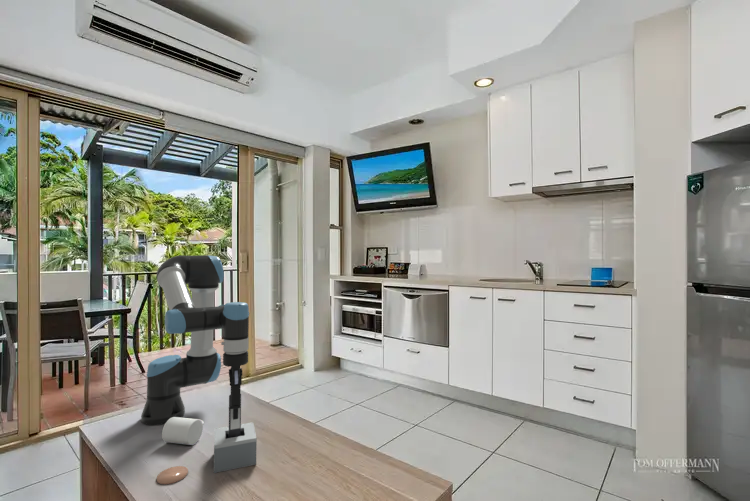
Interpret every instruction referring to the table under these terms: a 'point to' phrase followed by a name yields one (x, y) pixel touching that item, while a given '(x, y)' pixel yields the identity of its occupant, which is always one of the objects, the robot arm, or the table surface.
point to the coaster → (172, 475)
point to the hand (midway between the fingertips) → (234, 425)
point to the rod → (234, 431)
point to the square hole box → (234, 448)
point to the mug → (182, 430)
